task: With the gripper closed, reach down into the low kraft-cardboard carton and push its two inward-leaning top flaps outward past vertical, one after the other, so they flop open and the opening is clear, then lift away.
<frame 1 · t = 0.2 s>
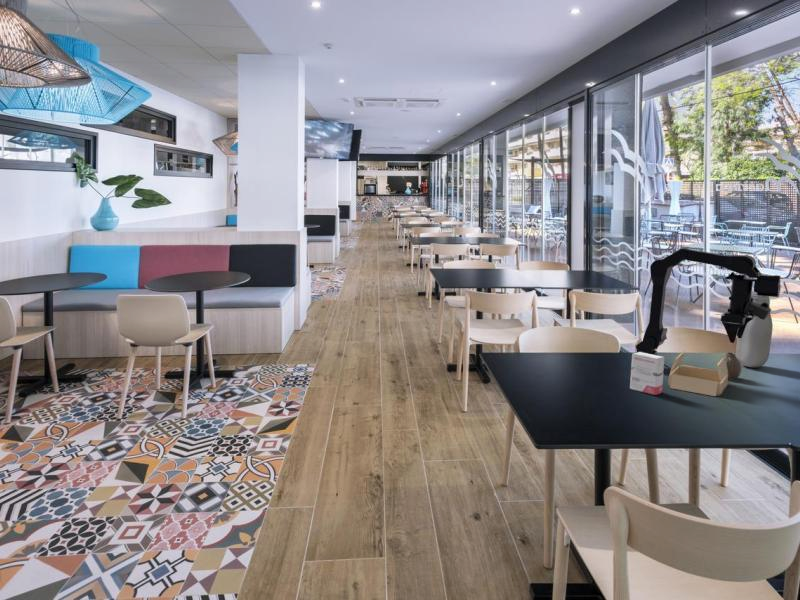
hand: (736, 340, 182), 14 cm above the table, fingers open, 9 cm apart
grey bottle: (750, 367, 202), on the table
ink box: (645, 391, 175), on the table
flap right: (722, 368, 174), point 7 cm above the table, hinge at -15.0°
flap left: (677, 361, 182), point 7 cm above the table, hinge at -15.0°
vase: (728, 378, 188), on the table
carton: (697, 385, 180), on the table
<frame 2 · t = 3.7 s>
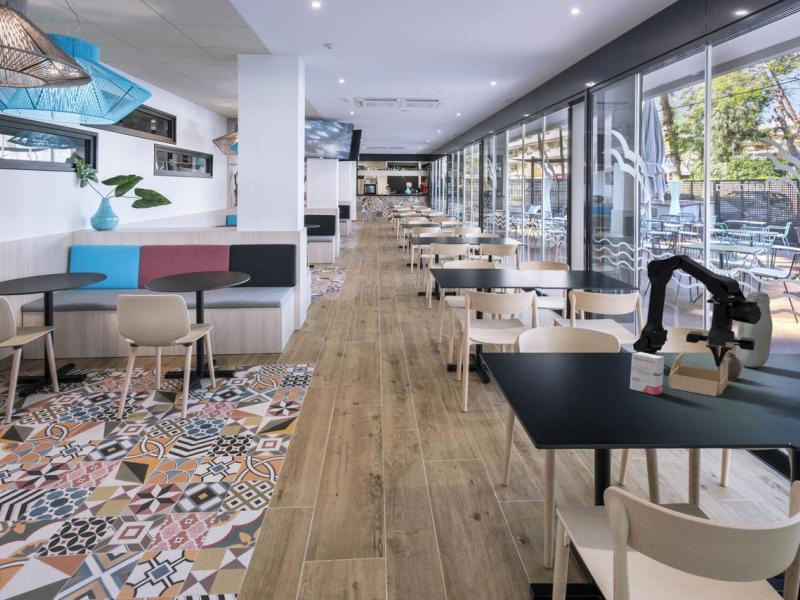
hand: (718, 366, 175), 8 cm above the table, fingers closed
flap right: (724, 368, 174), point 7 cm above the table, hinge at -4.2°, touching gripper
everything else where it was.
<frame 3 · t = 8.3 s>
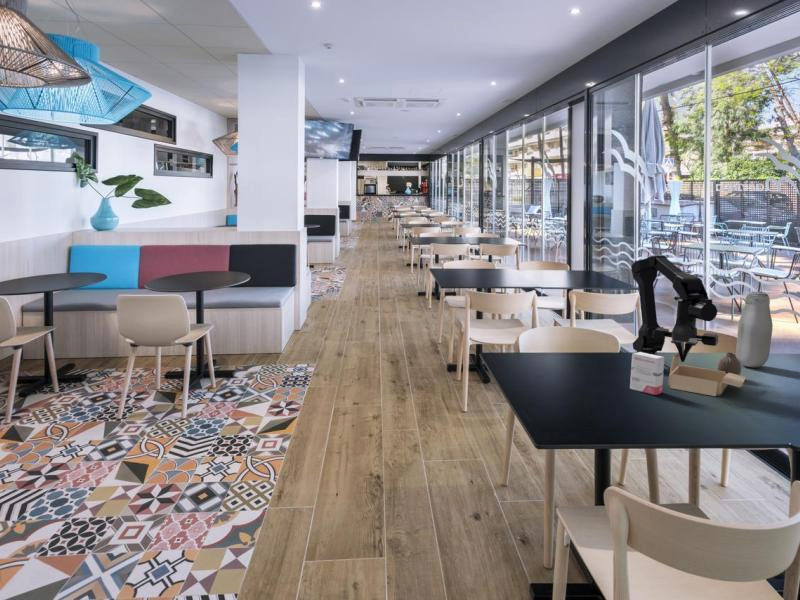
hand: (682, 361, 182), 7 cm above the table, fingers closed
flap right: (734, 379, 173), point 4 cm above the table, hinge at 95.6°
flap left: (676, 361, 183), point 7 cm above the table, hinge at -5.1°, touching gripper
everything else where it was.
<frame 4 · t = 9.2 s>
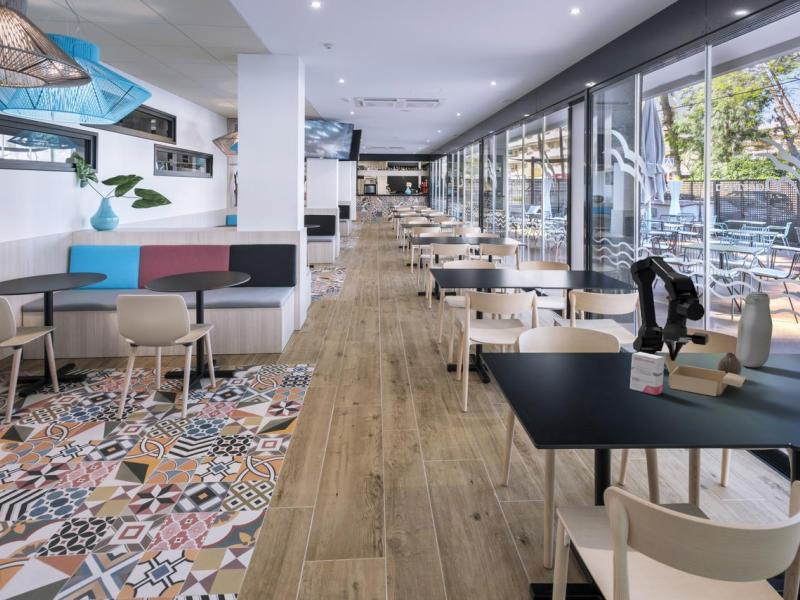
hand: (673, 360, 183), 7 cm above the table, fingers closed
flap left: (671, 361, 184), point 7 cm above the table, hinge at 25.4°
everything else where it was.
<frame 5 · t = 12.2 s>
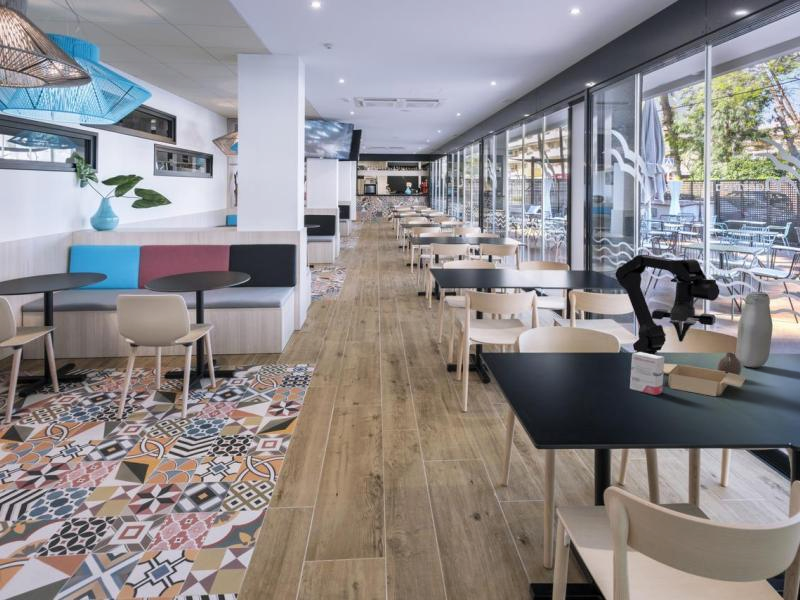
hand: (680, 341, 188), 13 cm above the table, fingers closed
flap left: (665, 368, 185), point 4 cm above the table, hinge at 95.6°
everything else where it was.
at the end: flap right at +96° (first picture: -15°); flap left at +96° (first picture: -15°) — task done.
